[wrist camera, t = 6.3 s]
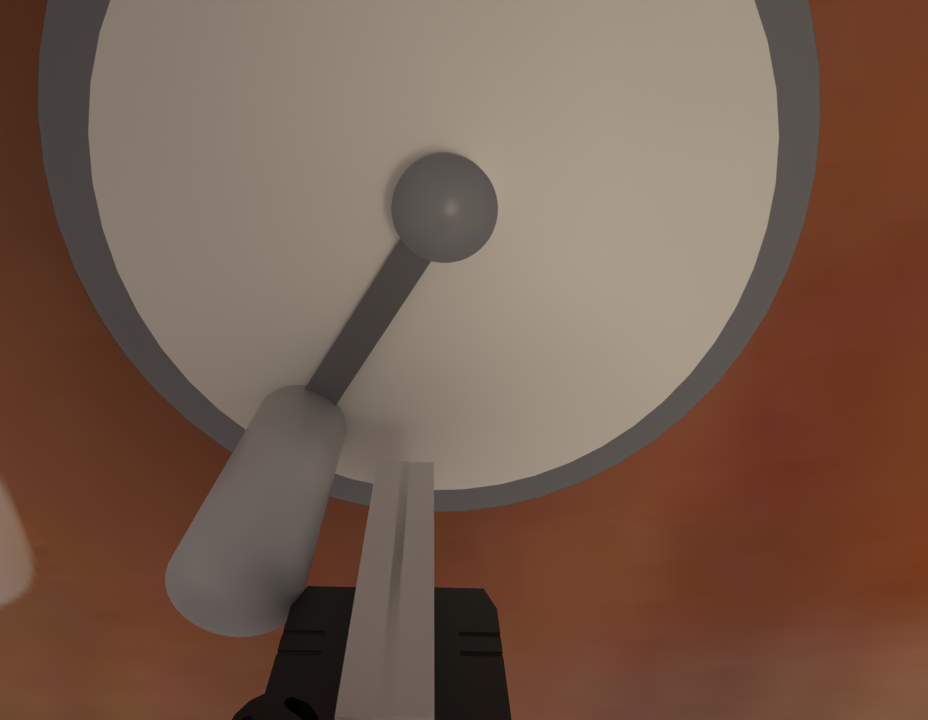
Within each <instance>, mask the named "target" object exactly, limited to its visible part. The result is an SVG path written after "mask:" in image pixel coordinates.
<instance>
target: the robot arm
mask: <svg viewBox="0 0 928 720" xmlns="http://www.w3.org/2000/svg"><path fill="white" fill-rule="evenodd" d="M232 720H511V713H510V706H509V698H508V690H507V683H506V675H505V668H504V660H503V657H502V645H501V637H500V629H499V622H498V614H497V608H496V607H495V605H494V604H493V602H492V601H491V599H490V598H489V596H488V595H487V593H486V592H485V590H484V589H477V588H435V587H434V463H433V462H408V461H381V460H377V465H376V471H375V477H374V483H373V489H372V495H371V501H370V507H369V513H368V519H367V525H366V531H365V537H364V543H363V549H362V555H361V561H360V567H359V573H358V579H357V585H356V587H319V586H308V587H307V588H306V589H305V590H304V591H303V592H302V594H301V595H300V596H299V597H298V598H297V600H296V601H295V602H294V603H293V604H292V605H291V607H290V610H289V614H288V617H287V621H286V624H285V627H284V633H283V635H282V638H281V641H280V644H279V648H278V653H277V655H276V658H275V661H274V665H273V668H272V671H271V675H270V678H269V682H268V685H267V688H266V692H265V694H263V695H261V696H259V697H256V698H254V699H252V700H250V701H249V702H248V703H247V704H246V705H245V706H244V707H243V708H242V709H241V710H239V711H238V712H237V713H236V714H235V715H234V717H233V719H232Z"/></svg>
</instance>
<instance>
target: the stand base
mask: <svg viewBox="0 0 928 720" xmlns="http://www.w3.org/2000/svg"><path fill="white" fill-rule="evenodd" d="M109 3H110V0H47V6H46V12H45V18H44V25H43V31H42V37H41V44H40V50H39V76H38V118H39V127H40V137H41V146H42V155H43V164H44V170H45V174H46V178H47V182H48V187H49V191H50V195H51V199H52V203H53V208H54V212H55V216H56V220H57V223H58V225H59V228H60V231H61V233H62V236H63V239H64V242H65V244H66V247H67V250H68V252H69V255H70V258H71V260H72V263H73V266H74V268H75V271H76V272H77V274H78V276H79V278H80V280H81V282H82V284H83V286H84V288H85V290H86V292H87V294H88V296H89V298H90V300H91V301H92V303H93V305H94V307H95V309H96V311H97V313H98V315H99V316H100V318H101V319H102V321H103V322H104V324H105V325H106V327H107V328H108V330H109V331H110V333H111V334H112V336H113V337H114V339H115V340H116V342H117V343H118V345H119V346H120V347H121V349H122V350H123V352H124V353H125V355H126V356H127V357H128V358H129V360H130V361H131V362H132V363H133V364H134V365H135V367H136V368H137V369H138V370H139V371H140V372H141V374H142V375H143V376H144V377H145V378H146V379H147V381H148V382H149V383H150V384H151V385H152V386H153V388H154V389H155V390H156V391H157V392H158V393H159V394H160V395H161V396H162V397H163V398H164V399H165V400H167V401H168V402H169V403H170V404H171V405H172V406H173V407H174V408H175V409H176V410H177V411H178V412H180V413H181V414H182V415H183V416H184V417H185V418H186V419H187V420H188V421H189V422H190V423H192V424H193V425H194V426H196V427H197V428H198V429H200V430H201V431H202V432H204V433H205V434H206V435H208V436H209V437H211V438H212V439H213V440H215V441H216V442H217V443H219V444H220V445H221V446H223V447H224V448H225V449H227V450H229V451H230V452H232V453H233V451H234V449H235V448H236V446H237V444H238V442H239V441H240V439H241V437H242V436H243V434H244V432H245V429H244V428H243V427H241V426H240V425H239V424H237V423H236V422H235V421H233V420H232V419H231V418H229V417H228V416H227V415H226V414H224V413H223V412H222V411H220V410H219V409H218V408H217V407H216V406H215V405H213V404H212V403H211V402H210V401H209V400H208V399H207V398H206V397H205V396H204V395H203V394H202V393H201V392H200V391H199V390H198V389H197V388H196V387H195V386H193V385H192V384H191V383H190V382H189V381H188V380H187V378H186V377H185V376H184V375H183V374H182V372H181V371H180V370H179V369H178V368H177V366H176V365H175V364H174V363H173V362H172V360H171V359H170V358H169V357H168V356H167V354H166V353H165V352H164V351H163V350H162V348H161V347H160V345H159V344H158V342H157V341H156V339H155V338H154V336H153V335H152V333H151V332H150V330H149V329H148V327H147V326H146V324H145V323H144V321H143V319H142V318H141V316H140V315H139V313H138V312H137V310H136V308H135V306H134V304H133V302H132V300H131V298H130V296H129V294H128V292H127V290H126V287H125V285H124V283H123V281H122V279H121V277H120V275H119V273H118V271H117V268H116V265H115V263H114V260H113V257H112V254H111V251H110V248H109V246H108V243H107V240H106V237H105V234H104V231H103V228H102V224H101V219H100V215H99V210H98V206H97V201H96V196H95V192H94V187H93V182H92V172H91V160H90V149H89V137H88V125H89V103H90V82H91V77H92V71H93V66H94V61H95V55H96V50H97V44H98V39H99V33H100V30H101V27H102V24H103V21H104V18H105V15H106V12H107V9H108V6H109ZM755 4H756V7H757V10H758V13H759V16H760V19H761V22H762V25H763V29H764V32H765V35H766V38H767V41H768V46H769V51H770V57H771V62H772V68H773V73H774V79H775V84H776V90H777V109H778V128H779V144H778V158H777V172H776V184H775V189H774V194H773V200H772V205H771V210H770V215H769V220H768V225H767V229H766V232H765V235H764V238H763V241H762V245H761V248H760V251H759V254H758V257H757V260H756V263H755V266H754V269H753V271H752V273H751V276H750V278H749V280H748V282H747V284H746V287H745V289H744V291H743V293H742V295H741V298H740V300H739V302H738V304H737V306H736V308H735V310H734V311H733V313H732V315H731V316H730V318H729V320H728V321H727V323H726V325H725V326H724V328H723V330H722V331H721V333H720V335H719V336H718V338H717V340H716V341H715V343H714V344H713V345H712V347H711V348H710V349H709V350H708V352H707V353H706V354H705V356H704V357H703V358H702V359H701V361H700V362H699V363H698V365H697V366H696V367H695V369H694V370H693V371H692V372H691V374H690V375H689V376H688V377H687V378H686V379H685V380H684V381H683V382H682V383H681V384H680V385H679V386H678V387H677V388H676V389H675V390H674V391H673V392H672V393H671V394H670V395H669V396H668V397H667V398H666V399H665V400H664V401H663V402H662V403H661V404H660V405H659V406H657V407H656V408H655V409H654V410H653V411H651V412H650V413H649V414H648V415H646V416H645V417H644V418H643V419H642V420H640V421H639V422H638V423H637V424H636V425H634V426H633V427H631V428H630V429H628V430H627V431H625V432H624V433H622V434H621V435H619V436H617V437H616V438H614V439H613V440H611V441H610V442H608V443H607V444H605V445H604V446H602V447H600V448H598V449H596V450H594V451H592V452H590V453H588V454H586V455H584V456H582V457H580V458H578V459H576V460H574V461H572V462H570V463H568V464H565V465H562V466H560V467H557V468H554V469H552V470H549V471H546V472H543V473H541V474H538V475H535V476H532V477H528V478H524V479H520V480H516V481H512V482H508V483H504V484H499V485H492V486H485V487H477V488H470V489H457V490H434V512H444V511H468V510H475V509H483V508H490V507H498V506H504V505H508V504H512V503H517V502H521V501H525V500H529V499H533V498H537V497H541V496H544V495H547V494H550V493H552V492H555V491H558V490H561V489H563V488H566V487H569V486H572V485H574V484H577V483H580V482H582V481H584V480H586V479H588V478H590V477H592V476H594V475H596V474H598V473H600V472H602V471H604V470H606V469H608V468H610V467H612V466H615V465H617V464H618V463H620V462H621V461H623V460H624V459H626V458H628V457H629V456H631V455H632V454H634V453H635V452H637V451H639V450H640V449H642V448H643V447H645V446H646V445H648V444H650V443H651V442H653V441H654V440H655V439H656V438H658V437H659V436H660V435H661V434H663V433H664V432H665V431H666V430H668V429H669V428H670V427H671V426H672V425H674V424H675V423H676V422H677V421H679V420H680V419H681V418H682V417H684V416H685V415H686V414H687V413H688V412H689V411H690V410H691V409H692V408H693V407H694V406H695V405H696V404H697V403H698V402H699V401H700V400H701V399H702V398H703V397H704V396H705V395H706V394H707V393H708V392H709V391H710V390H711V389H712V388H713V387H714V386H715V385H716V384H717V382H718V381H719V380H720V379H721V377H722V376H723V375H724V374H725V372H726V371H727V370H728V369H729V367H730V366H731V365H732V364H733V362H734V361H735V360H736V359H737V357H738V356H739V355H740V354H741V352H742V351H743V350H744V348H745V347H746V345H747V343H748V342H749V340H750V339H751V337H752V335H753V334H754V332H755V331H756V329H757V327H758V326H759V324H760V323H761V321H762V320H763V318H764V316H765V315H766V313H767V312H768V310H769V308H770V305H771V303H772V301H773V299H774V297H775V295H776V293H777V291H778V289H779V287H780V285H781V283H782V281H783V279H784V276H785V274H786V272H787V270H788V268H789V265H790V262H791V259H792V256H793V253H794V251H795V248H796V245H797V242H798V239H799V236H800V233H801V231H802V228H803V225H804V221H805V217H806V212H807V208H808V203H809V199H810V194H811V190H812V185H813V181H814V176H815V170H816V160H817V150H818V140H819V130H820V83H819V63H818V56H817V49H816V43H815V36H814V29H813V23H812V16H811V10H810V7H809V3H808V0H755ZM372 489H373V483H368V482H363V481H358V480H353V479H350V478H347V477H344V476H341V475H338V474H335V476H334V480H333V484H332V487H331V491H330V495H329V496H330V497H333V498H336V499H339V500H342V501H347V502H353V503H358V504H363V505H368V506H370V501H371V495H372Z"/></svg>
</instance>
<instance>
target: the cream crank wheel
mask: <svg viewBox="0 0 928 720" xmlns="http://www.w3.org/2000/svg"><path fill="white" fill-rule="evenodd" d="M88 137H89V149H90V160H91V172H92V182H93V187H94V192H95V196H96V201H97V206H98V210H99V215H100V219H101V224H102V228H103V231H104V234H105V237H106V240H107V243H108V246H109V248H110V251H111V254H112V257H113V260H114V263H115V265H116V268H117V271H118V273H119V275H120V277H121V279H122V281H123V283H124V285H125V287H126V290H127V292H128V294H129V296H130V298H131V300H132V302H133V304H134V306H135V308H136V310H137V312H138V313H139V315H140V316H141V318H142V319H143V321H144V323H145V324H146V326H147V327H148V329H149V330H150V332H151V333H152V335H153V336H154V338H155V339H156V341H157V342H158V344H159V345H160V347H161V348H162V350H163V351H164V352H165V353H166V354H167V356H168V357H169V358H170V359H171V360H172V362H173V363H174V364H175V365H176V366H177V368H178V369H179V370H180V371H181V372H182V374H183V375H184V376H185V377H186V378H187V380H188V381H189V382H190V383H191V384H192V385H193V386H195V387H196V388H197V389H198V390H199V391H200V392H201V393H202V394H203V395H204V396H205V397H206V398H207V399H208V400H209V401H210V402H211V403H212V404H213V405H215V406H216V407H217V408H218V409H219V410H220V411H222V412H223V413H224V414H226V415H227V416H228V417H229V418H231V419H232V420H233V421H235V422H236V423H237V424H239V425H240V426H241V427H243V428H244V429H245V432H244V434H243V436H242V437H241V439H240V441H239V442H238V444H237V446H236V448H235V449H234V451H233V453H232V454H231V456H230V458H229V460H228V461H227V463H226V465H225V466H224V468H223V470H222V472H221V473H220V475H219V477H218V478H217V480H216V482H215V484H214V485H213V487H212V489H211V491H210V492H209V494H208V496H207V497H206V499H205V501H204V503H203V504H202V506H201V508H200V509H199V511H198V513H197V515H196V516H195V518H194V520H193V521H192V523H191V525H190V527H189V528H188V530H187V532H186V533H185V535H184V537H183V539H182V540H181V542H180V544H179V546H178V547H177V549H176V551H175V552H174V554H173V556H172V558H171V559H170V561H169V563H168V566H167V569H166V575H165V585H166V590H167V593H168V596H169V598H170V600H171V602H172V603H173V605H174V606H175V608H176V609H177V610H178V612H180V613H181V614H182V615H183V616H184V617H185V618H186V619H187V620H189V621H190V622H191V623H193V624H195V625H196V626H198V627H200V628H202V629H204V630H206V631H209V632H212V633H215V634H219V635H224V636H230V637H251V636H257V635H261V634H265V633H268V632H271V631H273V630H275V629H277V628H279V627H281V626H282V625H284V624H285V623H286V621H287V617H288V614H289V610H290V607H291V605H292V604H293V603H294V602H295V601H296V600H297V598H298V597H299V596H300V595H301V594H302V592H303V591H304V590H305V586H306V582H307V579H308V575H309V571H310V567H311V563H312V560H313V556H314V552H315V548H316V544H317V541H318V537H319V533H320V529H321V525H322V522H323V518H324V514H325V510H326V506H327V503H328V499H329V495H330V491H331V487H332V484H333V480H334V476H335V474H338V475H341V476H344V477H347V478H350V479H353V480H358V481H363V482H368V483H374V477H375V471H376V465H377V460H381V461H408V462H433V463H434V490H457V489H470V488H477V487H485V486H492V485H499V484H504V483H508V482H512V481H516V480H520V479H524V478H528V477H532V476H535V475H538V474H541V473H543V472H546V471H549V470H552V469H554V468H557V467H560V466H562V465H565V464H568V463H570V462H572V461H574V460H576V459H578V458H580V457H582V456H584V455H586V454H588V453H590V452H592V451H594V450H596V449H598V448H600V447H602V446H604V445H605V444H607V443H608V442H610V441H611V440H613V439H614V438H616V437H617V436H619V435H621V434H622V433H624V432H625V431H627V430H628V429H630V428H631V427H633V426H634V425H636V424H637V423H638V422H639V421H640V420H642V419H643V418H644V417H645V416H646V415H648V414H649V413H650V412H651V411H653V410H654V409H655V408H656V407H657V406H659V405H660V404H661V403H662V402H663V401H664V400H665V399H666V398H667V397H668V396H669V395H670V394H671V393H672V392H673V391H674V390H675V389H676V388H677V387H678V386H679V385H680V384H681V383H682V382H683V381H684V380H685V379H686V378H687V377H688V376H689V375H690V374H691V372H692V371H693V370H694V369H695V367H696V366H697V365H698V363H699V362H700V361H701V359H702V358H703V357H704V356H705V354H706V353H707V352H708V350H709V349H710V348H711V347H712V345H713V344H714V343H715V341H716V340H717V338H718V336H719V335H720V333H721V331H722V330H723V328H724V326H725V325H726V323H727V321H728V320H729V318H730V316H731V315H732V313H733V311H734V310H735V308H736V306H737V304H738V302H739V300H740V298H741V295H742V293H743V291H744V289H745V287H746V284H747V282H748V280H749V278H750V276H751V273H752V271H753V269H754V266H755V263H756V260H757V257H758V254H759V251H760V248H761V245H762V241H763V238H764V235H765V232H766V229H767V225H768V220H769V215H770V210H771V205H772V200H773V194H774V189H775V184H776V172H777V158H778V144H779V128H778V109H777V90H776V84H775V79H774V73H773V68H772V62H771V57H770V51H769V46H768V41H767V38H766V35H765V32H764V29H763V25H762V22H761V19H760V16H759V13H758V10H757V7H756V4H755V0H110V3H109V6H108V9H107V12H106V15H105V18H104V21H103V24H102V27H101V30H100V33H99V39H98V44H97V50H96V55H95V61H94V66H93V71H92V77H91V82H90V103H89V125H88Z"/></svg>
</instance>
